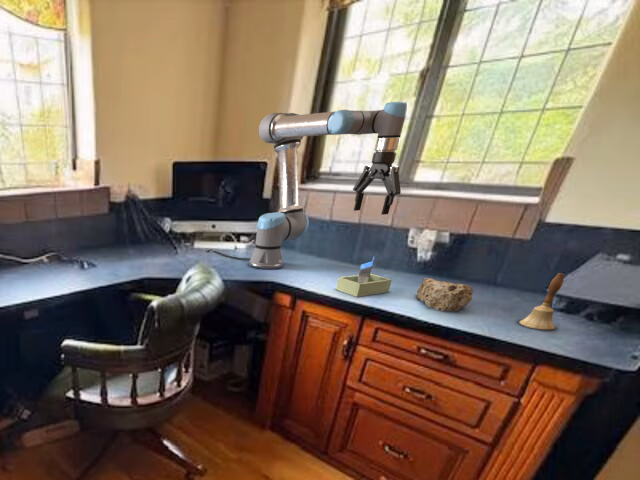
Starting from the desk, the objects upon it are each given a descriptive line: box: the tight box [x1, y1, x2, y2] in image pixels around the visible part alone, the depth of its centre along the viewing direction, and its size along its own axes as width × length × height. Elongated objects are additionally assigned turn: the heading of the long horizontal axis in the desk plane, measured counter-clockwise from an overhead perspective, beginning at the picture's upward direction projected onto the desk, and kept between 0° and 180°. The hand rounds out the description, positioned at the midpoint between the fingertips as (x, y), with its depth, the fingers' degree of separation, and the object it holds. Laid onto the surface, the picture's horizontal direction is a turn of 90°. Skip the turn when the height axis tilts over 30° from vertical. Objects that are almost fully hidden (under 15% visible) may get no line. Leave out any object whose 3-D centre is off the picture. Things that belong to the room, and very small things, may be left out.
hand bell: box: [519, 272, 565, 331], centre depth 125 cm, size 8×8×16 cm
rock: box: [416, 277, 474, 312], centre depth 147 cm, size 21×14×10 cm
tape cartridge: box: [357, 254, 376, 284], centre depth 161 cm, size 9×4×12 cm, turn 152°
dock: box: [335, 273, 392, 298], centre depth 163 cm, size 11×16×5 cm
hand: (370, 212), depth 167 cm, fingers open, 13 cm apart
